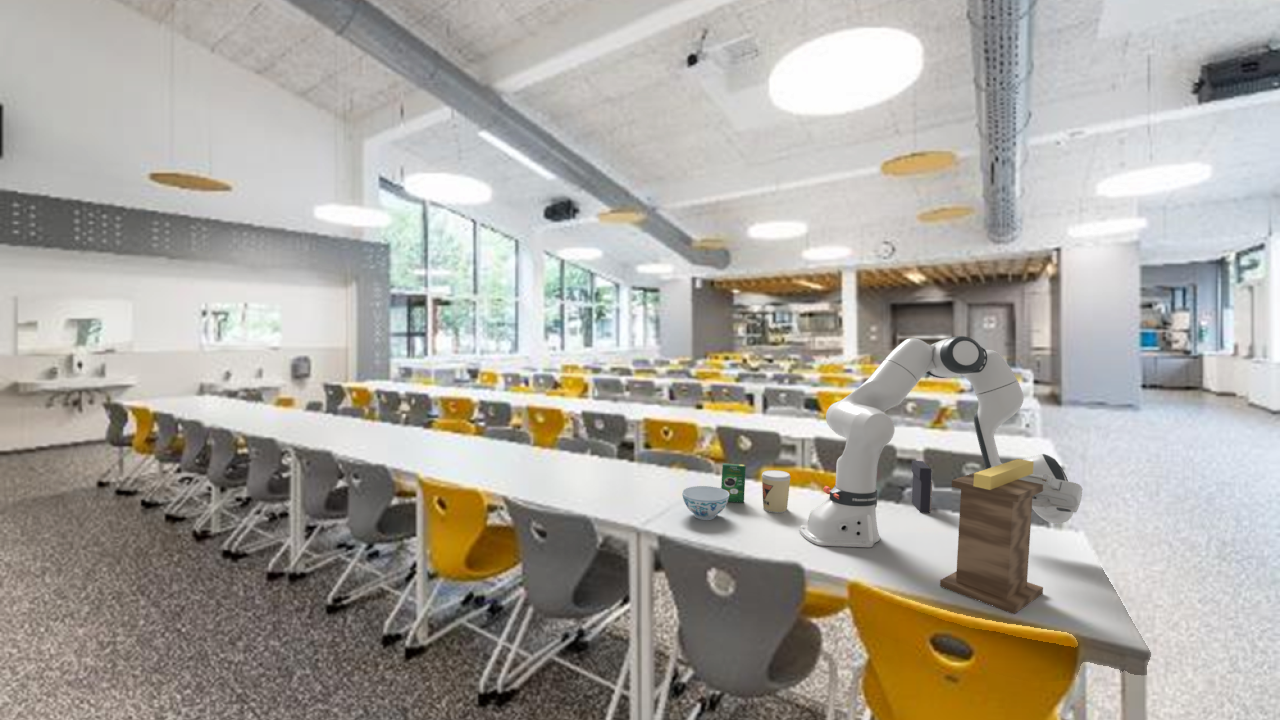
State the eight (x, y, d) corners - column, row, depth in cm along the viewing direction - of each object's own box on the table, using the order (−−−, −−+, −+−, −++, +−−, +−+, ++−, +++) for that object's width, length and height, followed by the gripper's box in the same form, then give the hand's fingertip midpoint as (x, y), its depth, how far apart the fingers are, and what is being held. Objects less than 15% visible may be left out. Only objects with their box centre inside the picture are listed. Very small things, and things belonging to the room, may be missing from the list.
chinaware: (702, 505, 198) (703, 483, 197) (738, 517, 187) (738, 493, 186) (671, 515, 187) (672, 492, 187) (707, 528, 177) (708, 503, 176)
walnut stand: (1014, 614, 127) (1021, 497, 125) (940, 586, 140) (945, 479, 138) (1042, 593, 137) (1049, 484, 135) (970, 569, 149) (976, 469, 147)
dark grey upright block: (932, 513, 192) (934, 468, 191) (918, 512, 193) (920, 468, 192) (922, 503, 203) (925, 460, 202) (909, 502, 204) (911, 460, 203)
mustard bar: (989, 489, 130) (990, 476, 130) (973, 486, 133) (974, 473, 133) (1032, 473, 144) (1033, 461, 144) (1017, 470, 147) (1017, 458, 147)
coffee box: (744, 500, 204) (745, 463, 203) (744, 503, 201) (745, 465, 200) (720, 499, 204) (721, 462, 203) (721, 502, 201) (722, 464, 200)
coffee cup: (757, 504, 199) (758, 470, 198) (784, 504, 200) (785, 469, 199) (765, 513, 190) (766, 477, 189) (793, 513, 191) (794, 477, 190)
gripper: (1001, 472, 163) (983, 453, 155) (1090, 491, 146) (1075, 470, 139) (994, 493, 161) (976, 475, 153) (1084, 514, 145) (1068, 495, 137)
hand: (1024, 473), depth 146 cm, fingers open, 8 cm apart
